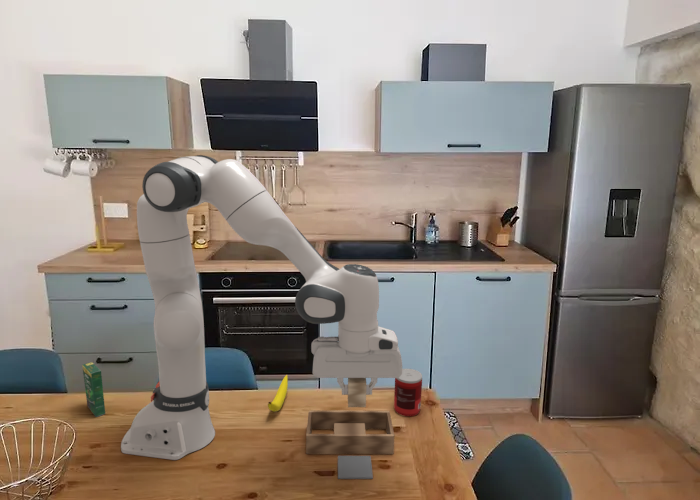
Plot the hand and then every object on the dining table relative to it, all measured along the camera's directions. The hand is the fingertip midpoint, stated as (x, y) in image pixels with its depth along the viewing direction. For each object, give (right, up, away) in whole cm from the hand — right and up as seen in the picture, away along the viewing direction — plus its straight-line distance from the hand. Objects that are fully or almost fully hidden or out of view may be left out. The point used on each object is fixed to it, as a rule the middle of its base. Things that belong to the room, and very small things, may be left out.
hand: (356, 393), depth 114 cm
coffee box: (-73, -12, +26) cm, 79 cm away
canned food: (+15, -13, +30) cm, 36 cm away
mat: (0, -19, +4) cm, 19 cm away
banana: (-22, -13, +31) cm, 40 cm away
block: (0, -2, +1) cm, 2 cm away
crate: (-2, -16, +15) cm, 22 cm away
